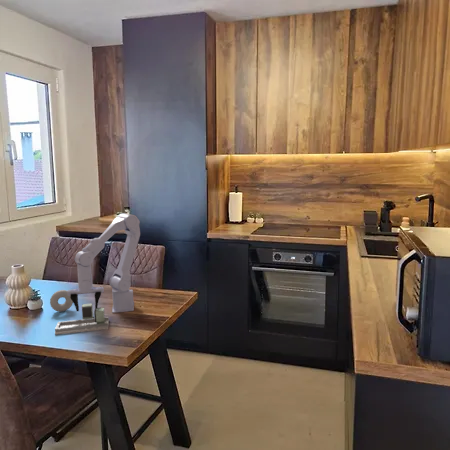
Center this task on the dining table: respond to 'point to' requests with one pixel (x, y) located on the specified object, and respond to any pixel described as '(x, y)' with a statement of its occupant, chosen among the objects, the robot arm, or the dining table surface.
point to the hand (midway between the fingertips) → (87, 309)
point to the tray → (84, 324)
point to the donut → (56, 297)
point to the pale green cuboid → (87, 311)
